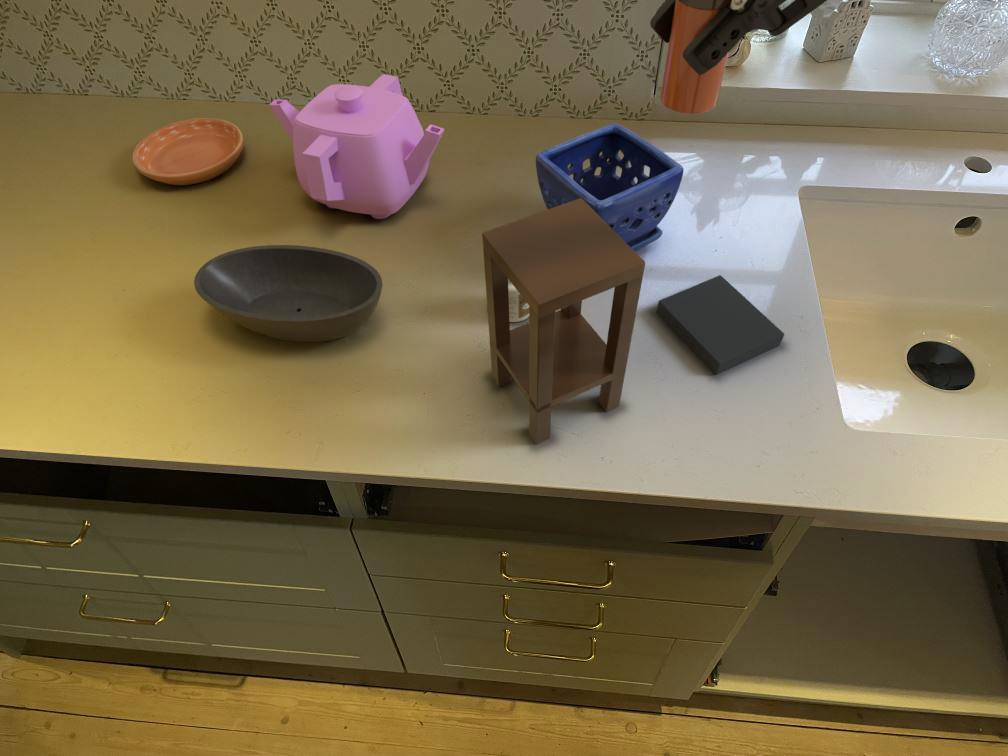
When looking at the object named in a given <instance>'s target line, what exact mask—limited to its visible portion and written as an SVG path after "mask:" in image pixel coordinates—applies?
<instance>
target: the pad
mask: <svg viewBox="0 0 1008 756" xmlns="http://www.w3.org/2000/svg"><path fill="white" fill-rule="evenodd" d="M656 314H657V315H658V316H659V318H661V319H662V320H663V322H665V323H666V324H667V326H668V327H669V328H670V329H671V330H672V331H673V332H674V333H675V334H676V335H677V336H678V337H679V338H680V339H681V340H682V341H683V342H684V343H685V345H686V346H687V347H688V348H689V349H690V350H691V351H692V352H693V353H694V354H695V355H696V356H697V357H698V359H700V361H702V362H703V364H704V365H705V366H706V367H707V368H708V369H709V370H710V371H711V373H713V374H714V376H718V375H720V374H723V373H724V372H726V371H728V370H731V369H733V368H735V367H737V366H739V365H741V364H743V363H746V362H747V361H750V360H752V359H754V358H756V357H758V356H760V355H763V354H765V353H767V352H769V351H772V350H773V349H775V348H778V347H780V345H781V343H782V341H783V340H784V336H785V333H784V332H783V331H782V330H781V329H780V328H779V327H777V325H776V324H774V323H773V322H772V321H771V320H770V319H769V318H768V317H767V316H765V314H764V313H763V312H761V311H760V310H759V309H758V307H756V306H755V305H754V304H753V303H751V301H749V300H748V299H747V298H746V296H744V295H743V294H742V293H741V292H740V291H739V290H738V289H736V288H735V287H734V286H733V285H732V284H731V283H730V282H729V281H727V280H726V279H725V278H724V277H723V276H722V275H721V274H720V275H717V276H714V277H712V278H710V279H707V280H705V281H703V282H702V281H701V283H698V284H696V285H693V286H690V287H689V288H686V289H684V290H681V291H678V292H676V293H674V294H671V295H669V296H667V297H664V298H662V299H659V300H658V302H657V307H656Z"/></svg>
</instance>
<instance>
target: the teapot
mask: <svg viewBox="0 0 1008 756" xmlns="http://www.w3.org/2000/svg"><path fill="white" fill-rule="evenodd" d="M402 92H403V91H402V88H401V84H400V80H399V77H398V76H396V75H391V74H387V73H386V74H385V73H382V74H381V75H380V76H379V77H378V78H376V80H375V81H374V82H373V83H372V84H371V85H369V86H365V85H358V84H348V83H347V84H346V83H338V84H337V83H336V84H331V85H330V84H329V86H327V87H326V88H324V89H323V90H321V92H319V93H318V94H317V95H316V96H315V97H314V98H313V99H311V100H310V101H309V102H308V103H307V104H306V105H305V106H304V107H303V108H302V109H301V110H300V111H299V110H298V108H296V107H295V106H293V105H292V104H291V103H290V102H289V101H288V99H279V98H278V99H277V98H276V99H274V100H273V101H272V102H271V103H269V104H268V105H269V108H270V110H271V111H272V112H273V114H274V115H275V117H276V119H277V120H278V121H279V123H280V124H281V126H282V128H283V129H284V131H285V132H286V133H287V135H288V137H289V138H290V140H291V142H292V145H293V147H292V149H293V160H294V166H295V171H296V177H297V179H298V182H299V184H300V187H302V189H303V191H304V192H305V193H306V194H307V195H308V196H309V197H310V198H312V199H313V200H314V201H316V202H318V203H321V204H323V205H325V206H326V207H327V208H329V209H338V210H341V211H345V212H350V213H357V214H364V215H370V216H371V217H372V219H377V220H382V219H387V218H388V217H390V216H391V215H393V214H395V213H397V212H398V211H400V210H401V209H402V207H403V206H404V205H405V204H407V202H408V201H409V200H410V199H411V198H412V196H413V195H414V194H415V192H416V191H417V190H418V188H419V187H420V185H421V184H422V183H423V181H424V179H425V178H426V175H427V172H428V169H429V165H430V161H431V158H432V156H433V154H434V152H435V150H436V148H437V146H438V144H439V142H440V140H441V138H442V137H443V135H444V133H445V128H444V127H440V126H437V125H435V124H431V123H430V124H429V125H428V127H426V129H425V131H424V129H423V126H422V124H421V121H420V120H419V118H418V116H417V113H416V112H415V111H416V110H414V107H413V105H412V104H411V102H410V100H409V98H408V97H406V96H405V95H403V93H402Z"/></svg>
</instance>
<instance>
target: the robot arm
mask: <svg viewBox="0 0 1008 756" xmlns="http://www.w3.org/2000/svg"><path fill="white" fill-rule="evenodd" d="M786 1H787V0H732V1H731V3H730V7H731V9H730V10H729V9H727V8H726V7H725V6H724V7H723V8H722V9H721V10H720V11H719V12H718V13H717V14H716V15H715V17H714V18H713V19H712V20H711V21H710V22H709V23H708V24H707V25H706V26H705V27H704V29H703V30H702V31H701V32H700V33H699V34H698V35H697V36H696V37H695V38H694V39H693V41H692V42H691V43H690V44H689V45H688V46H687V47H686V48H685V50H684V51H683V58H684V59H685V61H686V62H687V63H688V64H689V65H690V66H691V67H692V69H693V70H694V71H696V72H697V73H698V74H699V75H702V74H704V73H706V72H707V71H708V70H710V69H712V68H713V67H715V66H716V65H717V64H718V63H719V62H720V61H721V60H722V58H723V57H725V56H726V55H727V53H728V52H729V53H730V52H731V50H733V48H735V46H737V44H739V42H740V41H742V39H743V38H744V37H745V36H746V35H747V34H749V33H752V34H753V33H755V32H758V31H759V30H760V31H767V32H768V33H769V35H770V36H771V37H778V36H780V35H781V34H783V33H784V32H786V31H787V30H788V29H790V28H791V27H793V26H794V25H796V24H797V23H798V22H800V21H801V20H802V19H803V18H805V17H806V16H808V15H809V14H811V13H812V12H813V11H815V10H817V8H819V7H820V6H822V5H823V4H824V3H826V2H827V1H828V0H794V1H792V2H791V3H789V4H788V5H786V6H785V7H784V8H783V9H781V7H780V6H781V5H782V4H784V3H785V2H786ZM675 2H676V0H664V2H663V3H662V4H661V5H660V6H659V8H657V10H656V12H655V14H654V15H653V16H652V18H651V19H650V22H649V24H650V25H649V26H650V28H651V29H652V30H653V31H654V32H655V34H657V36H658V37H659V38H660V39H661V40H662V41H663V42H664V43H667V44H669V40H670V33H671V27H672V21H673V14H674V8H675Z"/></svg>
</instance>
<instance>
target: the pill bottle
mask: <svg viewBox="0 0 1008 756" xmlns="http://www.w3.org/2000/svg"><path fill="white" fill-rule="evenodd" d="M508 293H509V322H510V323H518V322H522V321H524V320H526V319H529V305H528V304H527V302H526V301H525V300H524V298H523V297H522V296H521V294H520V293H519V292H518V291H517V289H516V288H515V287H514V285H513V284H512V283H511V282H510V280H509V279H508Z"/></svg>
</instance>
